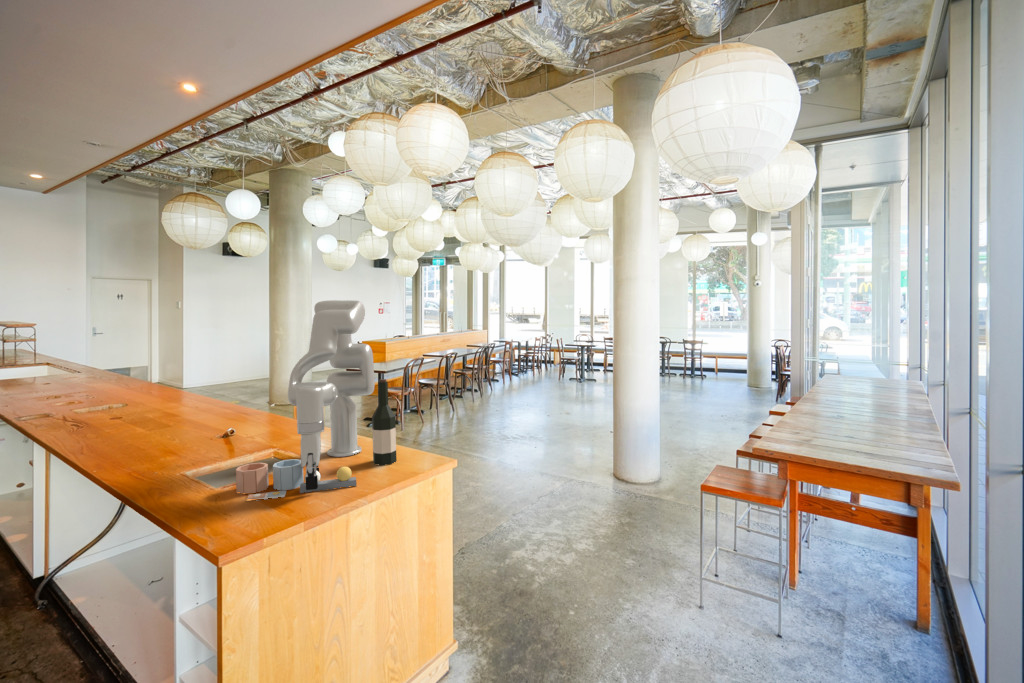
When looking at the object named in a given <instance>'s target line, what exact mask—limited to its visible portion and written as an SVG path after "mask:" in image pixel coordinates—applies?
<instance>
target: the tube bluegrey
mask: <svg viewBox="0 0 1024 683" xmlns="http://www.w3.org/2000/svg"><path fill="white" fill-rule="evenodd" d="M272 480H273V489H274V490H276V489H277V491H284V490H285V491H287V490H294V489H297V488H300V484H301V483H305V481H304V480H305V476H304V467H303V468H302V467H301V459H299V458H298V459H297V458H296V459H295V458H294V459H293V458H292V459H283V460H280V461H278V462H274V464H273V465H272Z"/></svg>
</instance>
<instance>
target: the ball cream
mask: <svg viewBox="0 0 1024 683" xmlns="http://www.w3.org/2000/svg"><path fill="white" fill-rule="evenodd" d="M316 475H317V479H318V482H319V481H321V473H320V471H319V472H318V471H316ZM304 480H305V481H304V482H306V474H305V475H304Z"/></svg>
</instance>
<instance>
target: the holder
mask: <svg viewBox="0 0 1024 683" xmlns="http://www.w3.org/2000/svg"><path fill="white" fill-rule="evenodd" d="M349 486H355V487H357V477H356V476H351V477H350V479H349V480H347V481H340V480H339V479H338V478H335V479H325V480H319V482H318V488H317V489H313V490H306V482H304V483H301V484H300V487H299V493H300V494H303V493H304V492H305V493H312V491H314V492H321V491H320V490H322V491H328V490H327V489H330V490H335V489H334V488H338V489H341V488H340V487H346V488H350V487H349Z"/></svg>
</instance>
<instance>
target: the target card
mask: <svg viewBox="0 0 1024 683" xmlns="http://www.w3.org/2000/svg"><path fill="white" fill-rule="evenodd" d="M286 493H287V490H277V491H269V492H259V493H256V494H248V495H247V497H248V498H246V499H264V500H269V499H268V498H272V499H279V498H278V497H281V498H285V497H286Z"/></svg>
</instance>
